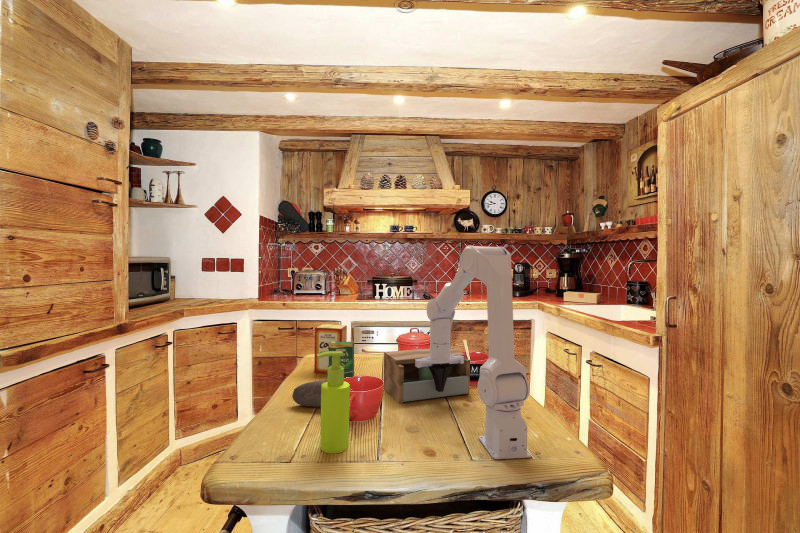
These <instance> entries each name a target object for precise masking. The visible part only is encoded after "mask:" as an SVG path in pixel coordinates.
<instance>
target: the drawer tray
mask: <svg viewBox="0 0 800 533" xmlns="http://www.w3.org/2000/svg"><path fill="white" fill-rule="evenodd" d="M468 379H469V376H459V377H451V376H449V375H448V378H447V380H446V383H445V387H444V391H443V392H438V391H437V390H436V387H435V383H434V379H433V380H424V381H418V378H412V379H404V383H403V389H402V401H403V403H404V402H405V403H406V402H413V401H420V400H427V399H428V400H429V399H435V398H436V399H437V398H442V397H450V396H451V397H452V396H459V395H467V394H466V393H468Z"/></svg>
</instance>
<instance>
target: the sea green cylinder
mask: <svg viewBox="0 0 800 533" xmlns="http://www.w3.org/2000/svg"><path fill="white" fill-rule="evenodd" d="M424 380H433V376H432V374H431V371H430V369H429V367H428V366H425V367H421V368H419V377H418V381H424Z"/></svg>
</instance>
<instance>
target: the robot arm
mask: <svg viewBox="0 0 800 533" xmlns="http://www.w3.org/2000/svg"><path fill="white" fill-rule="evenodd" d="M459 263H460V266H459V268H458V270H457V272H456V273H455V276H454V277H453V279H452V281H451V282H447V283H445V284H444V286H443V287H442V288H441V291H440V292H439V293H438V295H437V297H435V298H432V299H429V300H428V301H427V305H426V315H427V318H428V320H429V322H430V323H429V325H430V326H429V349H430V357H426V358H421V359H415V366H416V367H418V368H421V367H425V366H428V367H429V369H430V371H431V374H432V376H433V379H434V383H435V387H436V390H437V391H438V392H443V391H444V387H445V383H446V380H447V378H448V375H449V374H450V372H451V370H452V366H450V364H456V363H460V364H463V363H464V357H463V356H461V355H458V356H450V348H451V335H452V334H451V333H452V332H451V329H452V328H451V327H452V326H453V324H454V323H453V322H454V321H453V320H454V318H455V316H456V310H455V308H456V307H457V306H458V305H459V304H460V302H461V301H462V299H463V298H464V296H465V292H464V290H465V289H466V288H467V286H468V285H469V284H471V282H472V281H473V279H476V280H480V281H481V282H482V283H483V284H484V285H485V287H486V307H487V308H486V309H487V310H486V311H487V337H488V338H487V341H488V342H487V344H488V359H487V360H486V361H485V362H484V363H483V364H482V365H481V367H480V368H479V378H478V382H477V386H476V387H477V393H478V397H479V399H480V400H481V403H483V405H485V422H484V424H485V425H484V426H485V428H484V429H485V430H484V435H478V440H479V441H480V442H481V443H482V445H483V446H484V449H486V451H487V452H488V453H489V455H490V456H491V458H492V459H494V460H504V459H505V460H507V459H527V458H531V457H532V454H531V453H530V452H529V451H528V425H527V423H526V421H525V419H524V417H523V416H522V409H521V408H522V407H524V402H525V401H527V399H528V398H529V396H530V393H531V392H530V391H531V389H530V388H531V387H530V383H529V380H528V377H527V368H526V366H524V365H523V364H522V363H520V362H519V361H518V360H517V359H515V357H516V356H515V336H514V335H515V333H514V309H513V308H514V307H513V306H514V304H513V278H512V277H513V275H512V254H511V252H509V250H507V249H506V248H505V247H504V246H480V245H479V246H476V245H475V246H474V245H470V244H469V245H466V246H465V248H464V249H463V250H462V252H461V254H460V256H459Z"/></svg>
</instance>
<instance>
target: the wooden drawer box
mask: <svg viewBox="0 0 800 533" xmlns="http://www.w3.org/2000/svg"><path fill="white" fill-rule="evenodd" d="M458 355H461V356H463V357H464V363H463V364H460V363H456V364H450V366H452V370H451V372H450V374H449V376H451V377H459V376H469V379H468V393H466V394H465V395H469V394H470V380H471V377H470V360H468V359H466V353H464V352H462V351H459V350H457V349H454V348H452V347H450V356H458ZM426 357H430V348H418V349H406V350H405V349H404V350H395V351H383V378H382V379H383V381H384V389H383V390H384V391H385V392H387V394H389V395H390V396H391V397H392V398H393V399H394V400H395V401H396V402H397V403H398V404H402V403H404V402H403V401H402V389H403V383H404V379H412V378H418V377H419V368H418V367H416V366H415V359H421V358H426ZM383 381H382V382H383Z"/></svg>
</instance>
